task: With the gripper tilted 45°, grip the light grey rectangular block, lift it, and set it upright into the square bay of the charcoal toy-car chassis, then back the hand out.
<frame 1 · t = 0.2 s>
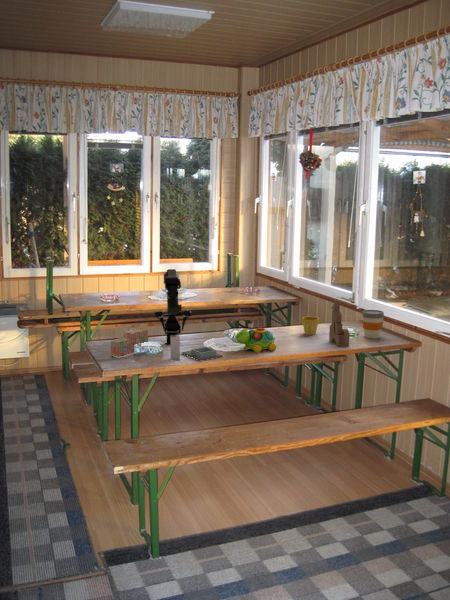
hand: (173, 331, 329), 15 cm above the table, tool tilted 15°, fingers open, 9 cm apart
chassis: (203, 356, 337), on the table
wooden toy: (338, 343, 364), on the table
turtle toy: (255, 349, 352), on the table
light grey rectangular block: (175, 359, 332), on the table
stack of blocks: (130, 354, 343), on the table
plant pot: (310, 334, 387), on the table
reusable coffee cup: (372, 336, 379), on the table
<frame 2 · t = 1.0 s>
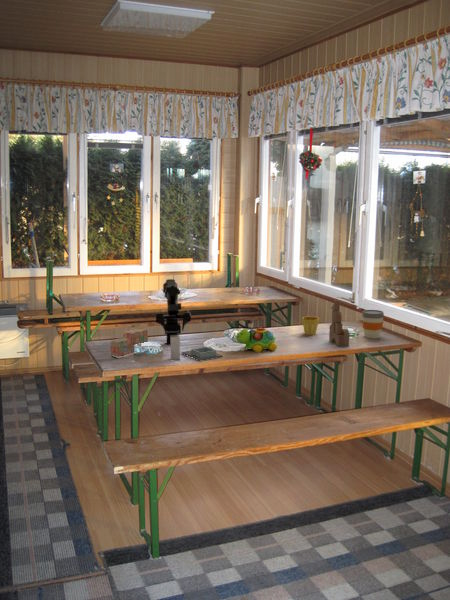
hand: (174, 330, 337), 13 cm above the table, tool tilted 45°, fingers open, 9 cm apart
nothing on the table moved.
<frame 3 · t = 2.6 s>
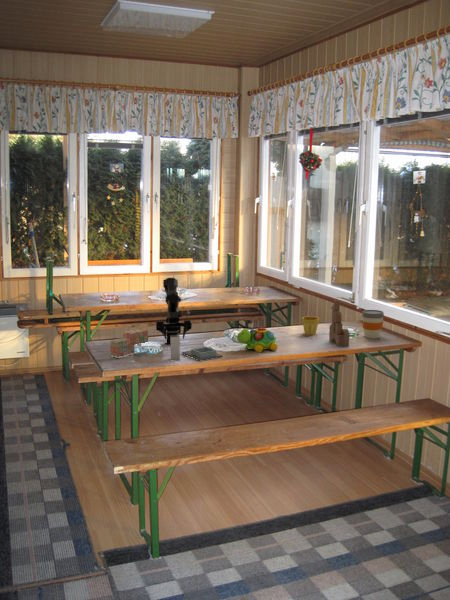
hand: (174, 338, 333), 10 cm above the table, tool tilted 45°, fingers open, 9 cm apart
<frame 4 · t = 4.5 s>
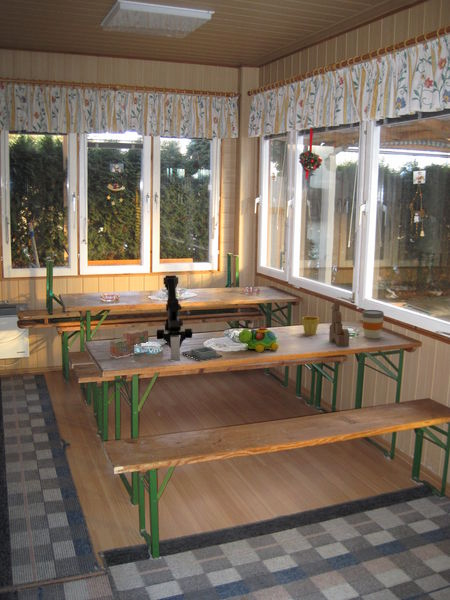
hand: (175, 347, 329), 7 cm above the table, tool tilted 45°, fingers closed on light grey rectangular block, 4 cm apart
light grey rectangular block: (175, 359, 332), on the table, touching gripper
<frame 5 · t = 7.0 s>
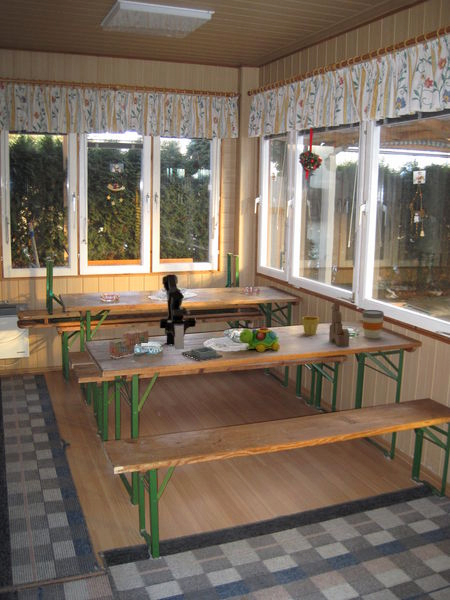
hand: (179, 336, 329), 12 cm above the table, tool tilted 45°, fingers closed on light grey rectangular block, 4 cm apart
light grey rectangular block: (179, 348, 331), point 6 cm above the table, touching gripper
when the fingers open (9 cm above the table, at t = 9.8 s): light grey rectangular block drops 1 cm, resting on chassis.
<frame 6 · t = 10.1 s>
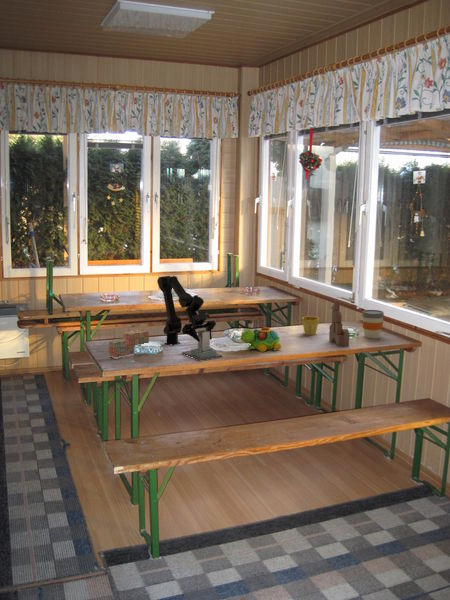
hand: (205, 340, 335), 9 cm above the table, tool tilted 45°, fingers open, 7 cm apart
light grey rectangular block: (203, 354, 337), point 1 cm above the table, touching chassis
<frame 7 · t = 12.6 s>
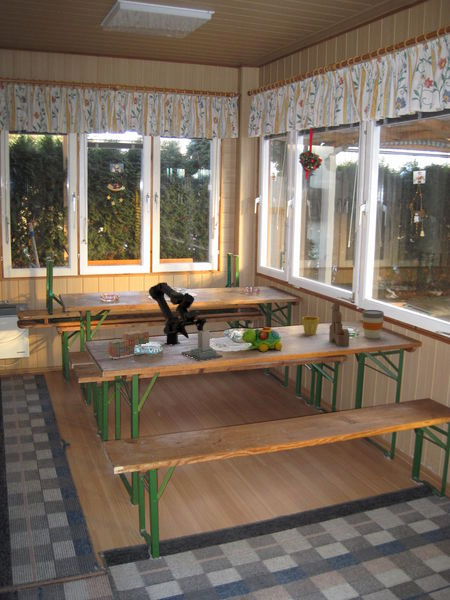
hand: (195, 336, 342), 9 cm above the table, tool tilted 45°, fingers open, 9 cm apart
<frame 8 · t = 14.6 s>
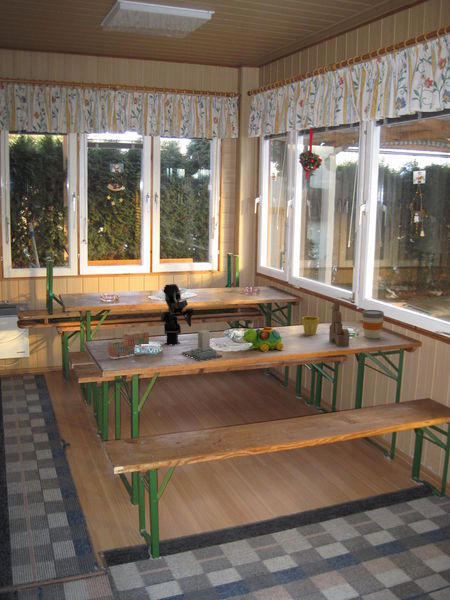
hand: (183, 327, 344), 14 cm above the table, tool tilted 45°, fingers open, 9 cm apart
at the end: light grey rectangular block 0.0 cm off-centre on the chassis, point 1.0 cm above the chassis's base; light grey rectangular block tilted 0°; the gripper is holding nothing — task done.
